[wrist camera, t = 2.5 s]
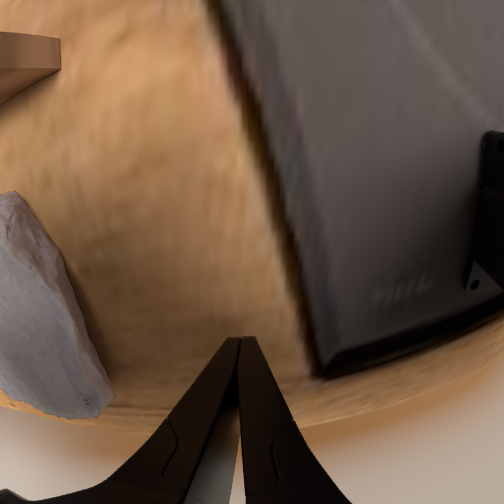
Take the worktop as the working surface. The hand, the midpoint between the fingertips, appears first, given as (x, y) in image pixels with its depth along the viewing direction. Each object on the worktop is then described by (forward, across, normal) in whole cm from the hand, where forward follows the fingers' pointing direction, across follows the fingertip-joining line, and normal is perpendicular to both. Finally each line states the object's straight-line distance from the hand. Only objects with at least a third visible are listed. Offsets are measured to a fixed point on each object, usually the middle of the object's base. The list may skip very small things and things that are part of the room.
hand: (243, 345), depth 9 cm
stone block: (+2, +11, 0) cm, 11 cm away
